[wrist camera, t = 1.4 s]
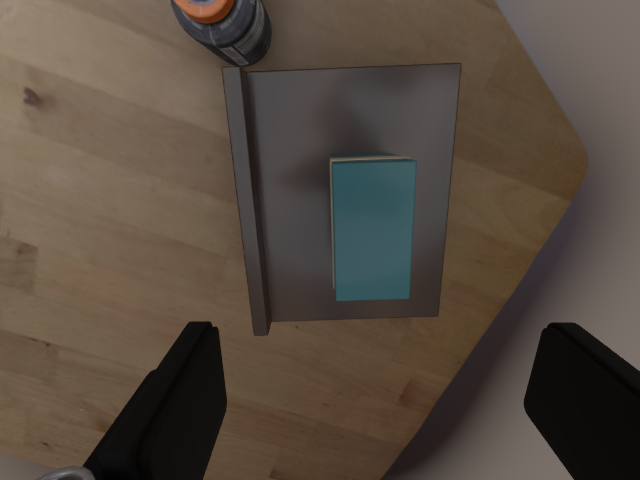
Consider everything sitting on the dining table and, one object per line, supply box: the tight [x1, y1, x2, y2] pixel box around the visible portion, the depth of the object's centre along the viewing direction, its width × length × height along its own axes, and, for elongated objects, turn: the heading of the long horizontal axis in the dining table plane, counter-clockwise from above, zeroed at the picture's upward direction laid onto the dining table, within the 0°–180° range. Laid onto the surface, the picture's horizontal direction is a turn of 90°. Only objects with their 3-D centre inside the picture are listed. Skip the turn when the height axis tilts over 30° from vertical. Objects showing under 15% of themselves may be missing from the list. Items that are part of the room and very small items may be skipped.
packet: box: [329, 153, 417, 301], centre depth 22 cm, size 5×8×7 cm, turn 2°
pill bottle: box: [171, 0, 271, 66], centre depth 25 cm, size 6×6×11 cm
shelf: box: [222, 63, 461, 336], centre depth 29 cm, size 16×20×12 cm
